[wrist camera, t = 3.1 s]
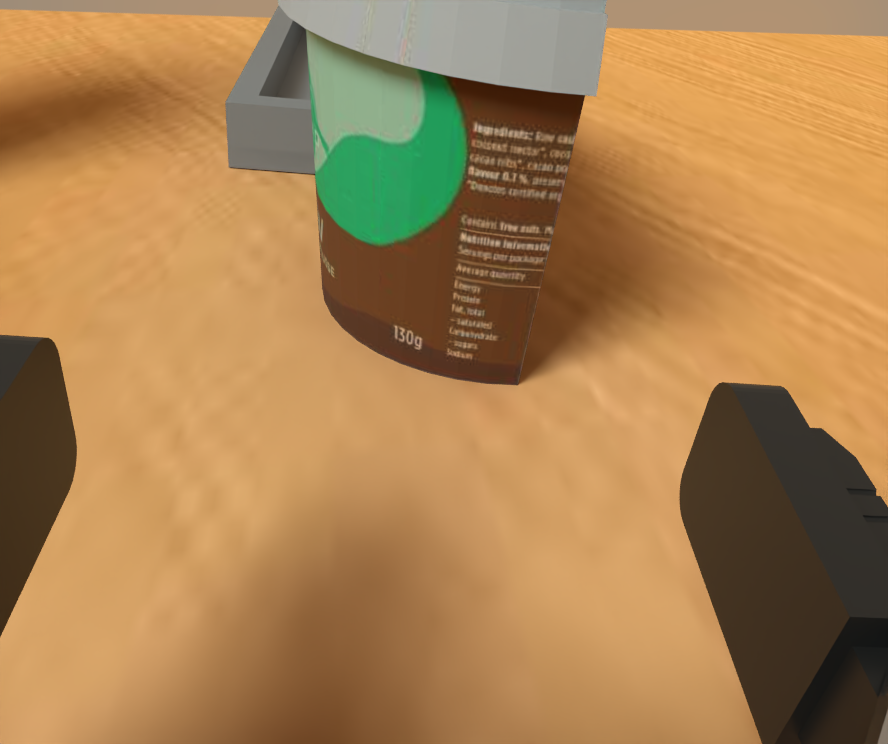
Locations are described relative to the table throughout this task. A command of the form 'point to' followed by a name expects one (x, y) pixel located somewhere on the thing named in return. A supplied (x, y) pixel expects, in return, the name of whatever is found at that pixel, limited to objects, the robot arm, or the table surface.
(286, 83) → the tray
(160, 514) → the table surface
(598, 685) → the table surface
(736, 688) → the table surface
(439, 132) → the food container
